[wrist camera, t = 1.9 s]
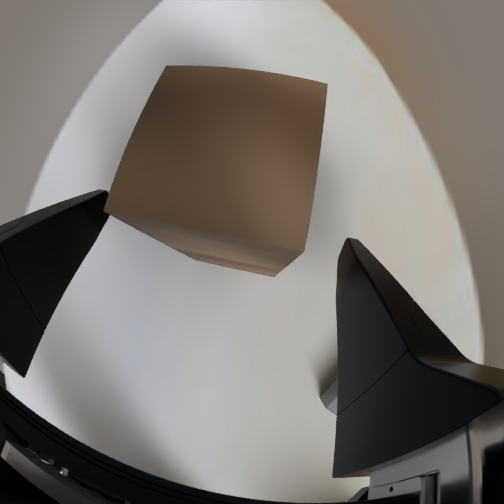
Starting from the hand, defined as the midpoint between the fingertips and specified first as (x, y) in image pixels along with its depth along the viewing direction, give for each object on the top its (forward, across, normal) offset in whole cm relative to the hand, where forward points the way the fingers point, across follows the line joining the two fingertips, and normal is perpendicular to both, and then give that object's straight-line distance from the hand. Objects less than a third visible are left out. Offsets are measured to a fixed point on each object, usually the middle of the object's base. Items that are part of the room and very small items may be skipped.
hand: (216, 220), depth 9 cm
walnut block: (+8, 0, +5) cm, 10 cm away
